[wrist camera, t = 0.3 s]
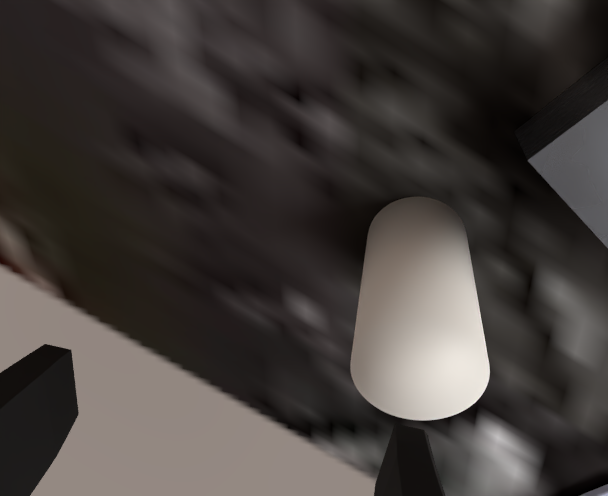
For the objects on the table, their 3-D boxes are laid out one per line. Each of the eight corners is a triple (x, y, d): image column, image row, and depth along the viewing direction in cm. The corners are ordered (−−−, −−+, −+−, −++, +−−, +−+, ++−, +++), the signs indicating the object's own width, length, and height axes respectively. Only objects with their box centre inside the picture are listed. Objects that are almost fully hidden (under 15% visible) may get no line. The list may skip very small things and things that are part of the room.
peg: (487, 244, 20) (519, 380, 14) (412, 296, 22) (412, 437, 16) (420, 177, 19) (425, 293, 13) (347, 237, 21) (322, 364, 15)
